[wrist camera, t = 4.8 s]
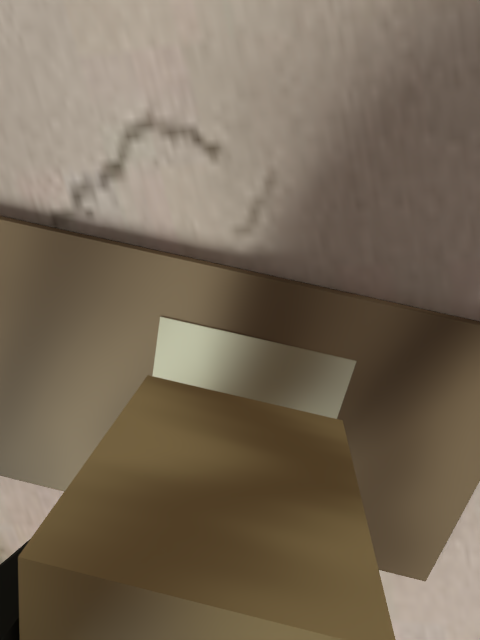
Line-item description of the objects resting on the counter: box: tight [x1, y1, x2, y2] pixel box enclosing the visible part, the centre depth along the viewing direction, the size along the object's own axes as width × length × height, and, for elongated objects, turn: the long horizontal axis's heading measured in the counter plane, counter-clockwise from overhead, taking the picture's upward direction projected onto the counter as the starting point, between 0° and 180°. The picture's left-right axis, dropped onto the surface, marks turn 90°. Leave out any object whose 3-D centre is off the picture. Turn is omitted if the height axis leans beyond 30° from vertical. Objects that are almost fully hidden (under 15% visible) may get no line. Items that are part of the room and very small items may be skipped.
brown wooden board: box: [0, 216, 480, 581], centre depth 14 cm, size 20×11×1 cm, turn 79°
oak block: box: [18, 375, 395, 640], centre depth 8 cm, size 5×7×5 cm
